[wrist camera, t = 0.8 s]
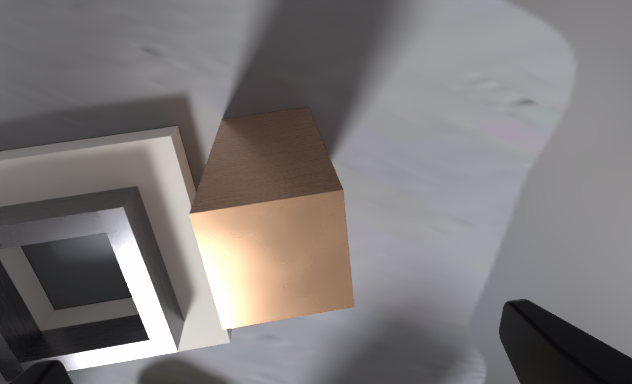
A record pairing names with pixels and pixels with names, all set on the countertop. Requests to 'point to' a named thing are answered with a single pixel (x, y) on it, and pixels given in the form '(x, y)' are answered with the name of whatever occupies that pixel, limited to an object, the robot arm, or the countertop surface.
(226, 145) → the wooden square prism
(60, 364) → the robot arm
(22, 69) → the countertop surface
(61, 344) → the collar plate
